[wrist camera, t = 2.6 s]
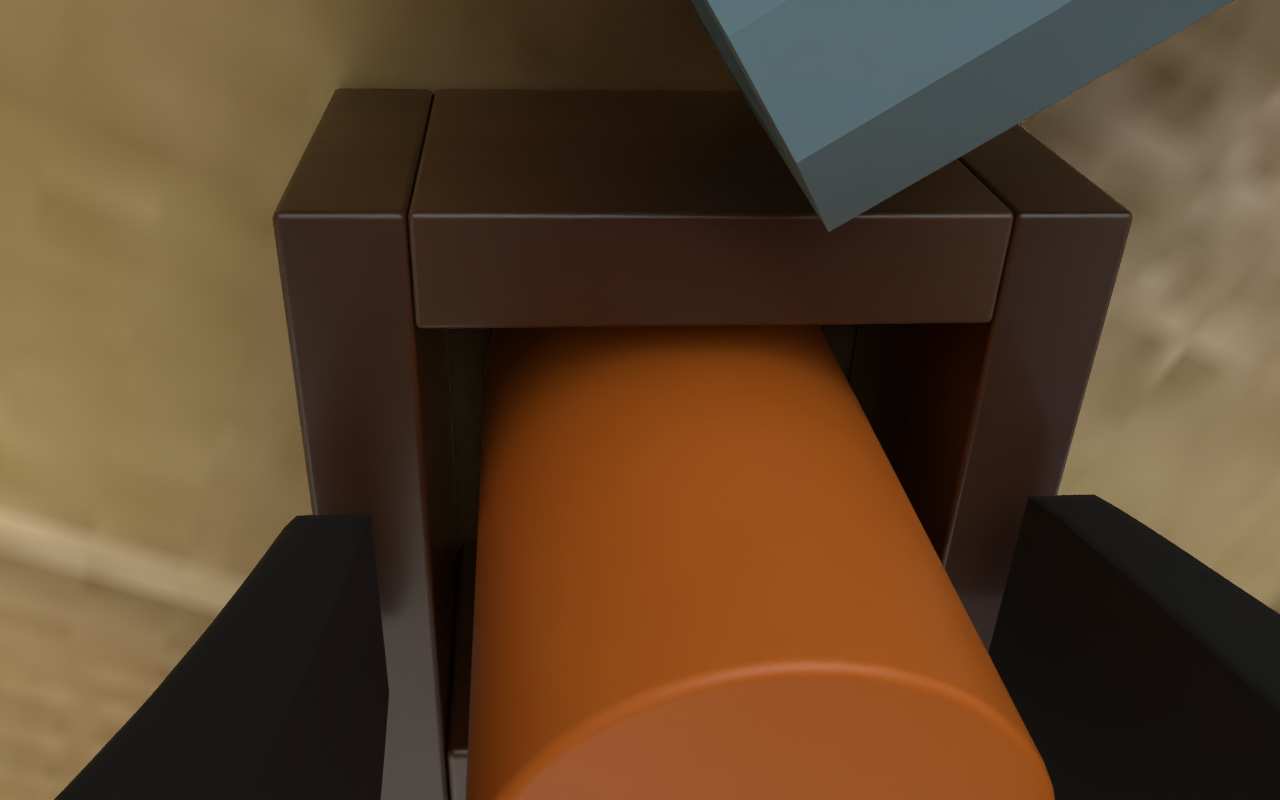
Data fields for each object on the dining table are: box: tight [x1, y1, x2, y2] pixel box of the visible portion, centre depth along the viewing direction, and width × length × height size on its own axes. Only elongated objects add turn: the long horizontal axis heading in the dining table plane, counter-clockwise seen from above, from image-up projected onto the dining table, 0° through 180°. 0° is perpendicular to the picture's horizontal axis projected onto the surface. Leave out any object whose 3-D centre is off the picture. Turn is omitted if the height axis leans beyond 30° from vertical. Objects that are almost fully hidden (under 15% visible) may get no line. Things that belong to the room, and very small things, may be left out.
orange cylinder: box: [465, 325, 1055, 800], centre depth 10 cm, size 4×4×7 cm
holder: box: [273, 89, 1132, 800], centre depth 12 cm, size 7×7×4 cm
